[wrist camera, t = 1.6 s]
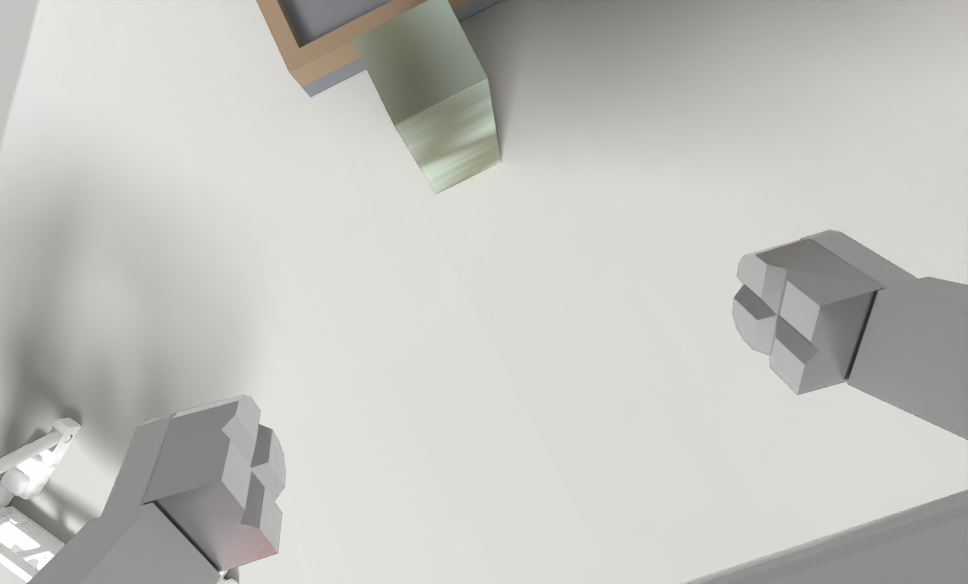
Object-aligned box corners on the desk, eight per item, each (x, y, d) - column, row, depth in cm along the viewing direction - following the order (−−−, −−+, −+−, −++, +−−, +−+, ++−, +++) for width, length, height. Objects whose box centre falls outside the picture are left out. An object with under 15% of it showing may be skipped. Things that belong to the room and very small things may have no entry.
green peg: (469, 100, 30) (443, -8, 21) (501, 161, 29) (487, 77, 20) (405, 132, 30) (352, 39, 21) (435, 194, 29) (394, 125, 20)
